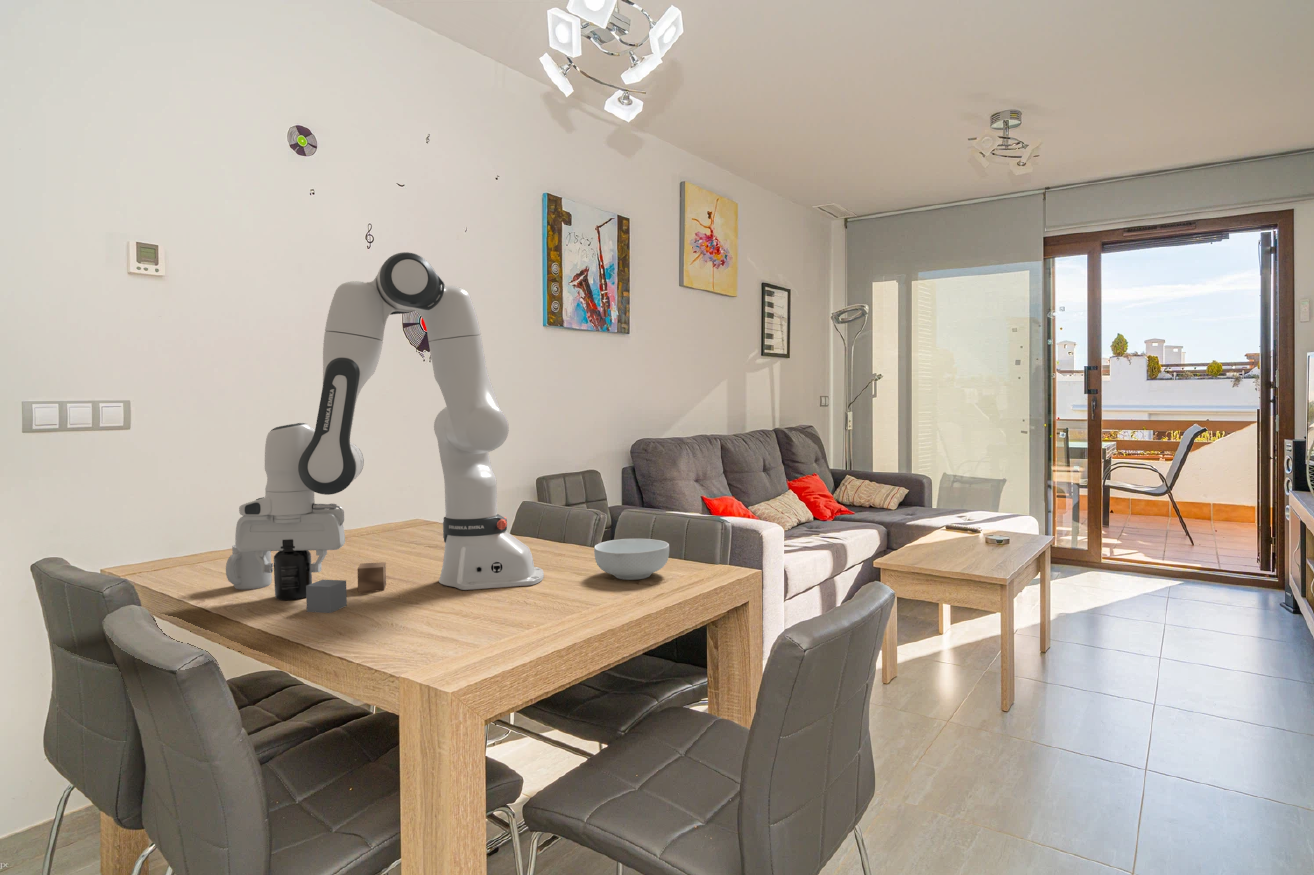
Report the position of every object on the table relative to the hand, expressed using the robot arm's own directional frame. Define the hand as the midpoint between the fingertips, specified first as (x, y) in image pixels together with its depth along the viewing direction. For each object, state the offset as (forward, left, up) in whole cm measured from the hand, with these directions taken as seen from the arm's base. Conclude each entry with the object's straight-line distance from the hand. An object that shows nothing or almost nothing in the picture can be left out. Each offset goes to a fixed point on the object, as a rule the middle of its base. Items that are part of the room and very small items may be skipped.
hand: (292, 572), depth 149 cm
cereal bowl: (-69, -10, -5) cm, 70 cm away
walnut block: (-14, -5, -5) cm, 16 cm away
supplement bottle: (0, 0, -5) cm, 5 cm away
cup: (+13, -9, -5) cm, 17 cm away
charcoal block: (-10, +10, -5) cm, 15 cm away
